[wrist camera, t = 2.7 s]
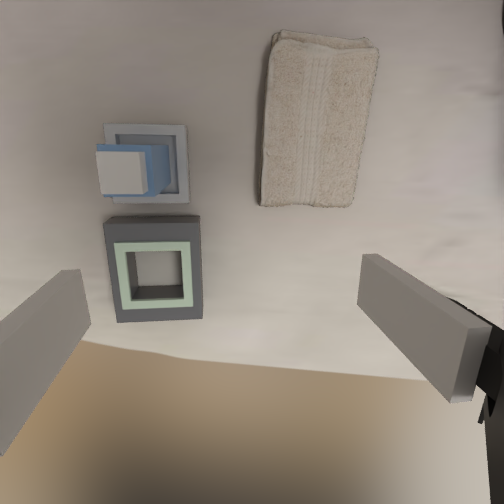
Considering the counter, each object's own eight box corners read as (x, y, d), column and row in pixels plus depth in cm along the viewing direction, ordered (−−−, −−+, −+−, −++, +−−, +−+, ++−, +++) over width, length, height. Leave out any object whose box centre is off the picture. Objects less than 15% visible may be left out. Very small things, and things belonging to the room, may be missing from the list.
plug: (129, 144, 33) (86, 144, 22) (168, 145, 33) (145, 144, 22) (134, 183, 34) (94, 201, 23) (170, 183, 35) (150, 200, 23)
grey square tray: (110, 124, 33) (102, 123, 31) (187, 126, 34) (185, 124, 32) (119, 199, 36) (113, 203, 33) (190, 199, 37) (189, 203, 34)
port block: (113, 216, 36) (101, 225, 32) (199, 216, 37) (198, 224, 34) (124, 308, 40) (115, 325, 36) (203, 305, 41) (202, 321, 37)
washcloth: (371, 44, 34) (386, 34, 31) (348, 206, 40) (358, 211, 37) (264, 34, 32) (269, 22, 30) (256, 204, 38) (259, 209, 35)
